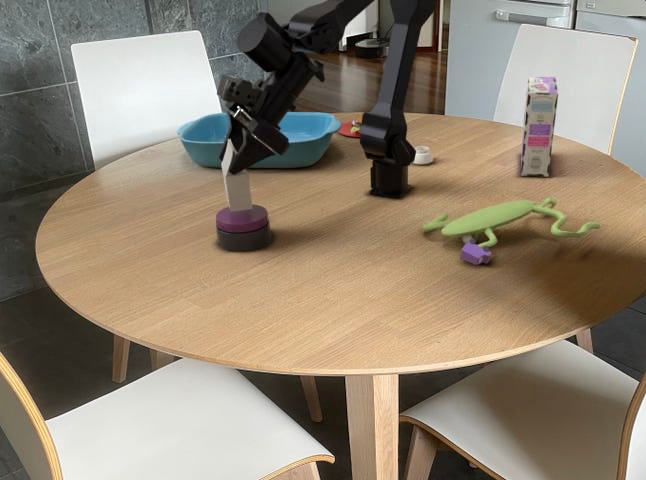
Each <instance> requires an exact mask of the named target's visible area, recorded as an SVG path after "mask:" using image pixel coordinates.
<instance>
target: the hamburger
mask: <svg viewBox="0 0 646 480" xmlns="http://www.w3.org/2000/svg"><path fill="white" fill-rule="evenodd" d="M368 112H369V113H370V112H371V111H368ZM363 114H364V112H360V113H359V114H358V115H357V116H356V118H355V119H354V120H351V121H346V122H343V123H342V126H341V128H340V130H339V131H337V132H336V133H339V134H340V135H343V136H347V137H356V138H360V134H358V132H359V130H360V128H361V124H362V116H363Z"/></svg>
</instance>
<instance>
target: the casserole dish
mask: <svg viewBox="0 0 646 480" xmlns="http://www.w3.org/2000/svg"><path fill="white" fill-rule="evenodd" d="M228 112H229V111H228ZM229 113H232V111H230V112H229ZM342 124H343V123H342V122H341V121H340V120H338V119H336V116H335V115H334V114H332V113H328V112H320V111H319V112H318V111H317V112H316V111H294V112H292V111H288V112H287V114H286V115H285V116H284V118H283V119H282V120H281V122H280V123H279V125H278V126H279V127H281V129H280V132H282V133H283V134H284V135H285V136H286V137H287V138H288V139H289V148H288V149H287V151H286V152H285V153H284V155H283V156H281V155H279V154H278V153H277V152H276V151H274V150H273V151H274V152H275V153H276V155H275V156H273V155H272V156H270V157H268V158H266V159H264V160H262V161H260V162H257V163H256V164H254V165H252V166H250V167H248V168H247V169H251V168H253V169H296V168H304V167H306V168H307V167H309V166H312V165H314V164H316V163H317V162H318V161H319V160H320V159H321V158H322V157H323V155H324V154H325V153H326V151H327V150H328V148H329V146H330V144H331V142H332V138H333V134H335V133H338V132H337V131H339V130H340V128H341V126H342ZM228 129H229V120H228V116H227V112H217V113H211V114H207V115H204V116H201V117H200V118H197V119H195V120H191V121H188V122H186V123H184V124H182V125H181V126H180V127H179V128H178V129H177V130H176V133H177V135H179V139H180V141H181V144H182V145H183V147H184V149H185V151H186V153H187V154H188V156H189V157H190V159H191V160H192V161H193V162H194V163H196V164H198V165H200V166H202V167H205V168H219V169H220V168H221V169H222V165H221V164H222V161H221V160H220V159H219V154H220V152H221V149H222V146H223V144H224V141H225V138H226V135H227V132H228ZM237 153H238V152H237Z"/></svg>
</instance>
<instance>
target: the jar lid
mask: <svg viewBox="0 0 646 480" xmlns="http://www.w3.org/2000/svg"><path fill="white" fill-rule="evenodd" d="M252 206H253V209H247V210H240V211H233V212H231V211H230V207H229V206H227V207H223V208H222V209H220V210H219V211H218V212H216V214H215V225H216V224H217V226H218V228H219V229H221V230H223V231H227V232H237V233H238V232H248V231H253V230H256V229H259V228H261V227H263V226H264V225H266V224H267V222H268V219H269V214H268V210H267V208H265V206H262V205H259V204H253V203H252Z"/></svg>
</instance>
